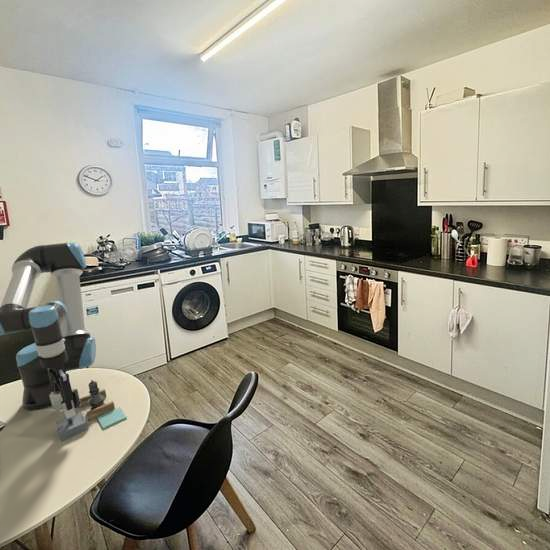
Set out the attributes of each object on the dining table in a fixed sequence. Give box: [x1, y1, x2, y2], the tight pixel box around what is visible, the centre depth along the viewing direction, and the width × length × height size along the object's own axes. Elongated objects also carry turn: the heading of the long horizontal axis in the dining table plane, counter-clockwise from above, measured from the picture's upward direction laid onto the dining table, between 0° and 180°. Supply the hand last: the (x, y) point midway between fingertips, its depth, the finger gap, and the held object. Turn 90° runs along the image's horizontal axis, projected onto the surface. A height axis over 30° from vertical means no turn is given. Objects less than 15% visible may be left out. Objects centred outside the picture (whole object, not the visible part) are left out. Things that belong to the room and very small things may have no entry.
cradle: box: [79, 388, 116, 421], centre depth 130 cm, size 12×9×3 cm
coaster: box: [96, 406, 128, 430], centre depth 123 cm, size 8×8×1 cm
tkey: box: [49, 388, 81, 422], centre depth 116 cm, size 8×2×11 cm, turn 97°
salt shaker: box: [88, 379, 106, 411], centre depth 129 cm, size 6×6×12 cm
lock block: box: [55, 411, 89, 442], centre depth 118 cm, size 8×8×3 cm
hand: (67, 413), depth 117 cm, fingers closed on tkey, 5 cm apart
